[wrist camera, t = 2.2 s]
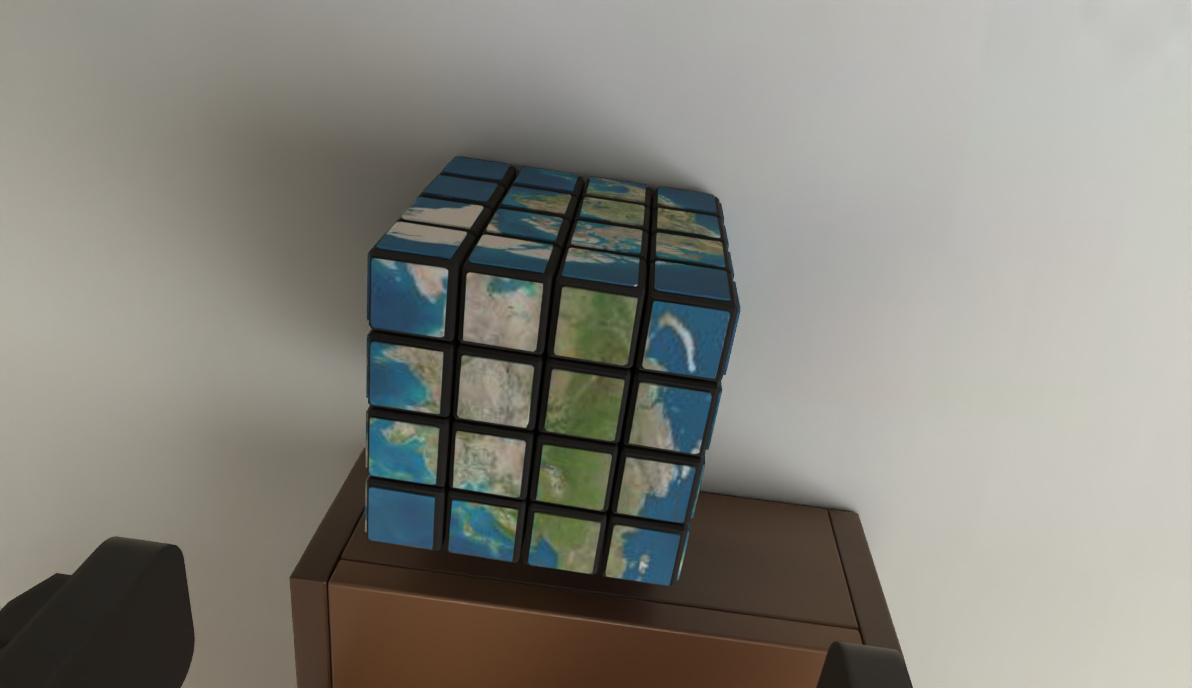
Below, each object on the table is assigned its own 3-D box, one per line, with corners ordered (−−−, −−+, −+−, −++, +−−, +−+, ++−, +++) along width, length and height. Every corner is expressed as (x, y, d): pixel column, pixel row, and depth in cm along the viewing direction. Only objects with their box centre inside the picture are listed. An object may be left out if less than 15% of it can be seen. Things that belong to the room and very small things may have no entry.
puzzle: (438, 388, 21) (361, 545, 16) (451, 153, 19) (364, 247, 13) (675, 424, 21) (677, 593, 16) (722, 194, 19) (743, 304, 13)
